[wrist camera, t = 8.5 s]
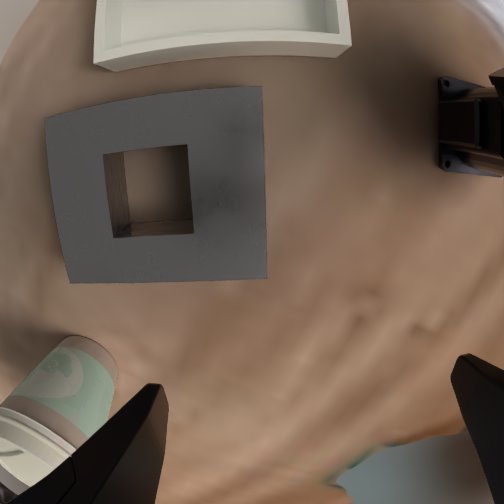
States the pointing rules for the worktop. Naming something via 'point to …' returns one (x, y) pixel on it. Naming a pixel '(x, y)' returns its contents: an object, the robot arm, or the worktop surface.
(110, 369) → the coffee cup
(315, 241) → the worktop surface
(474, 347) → the worktop surface
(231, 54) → the parts tray
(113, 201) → the block
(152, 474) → the robot arm
